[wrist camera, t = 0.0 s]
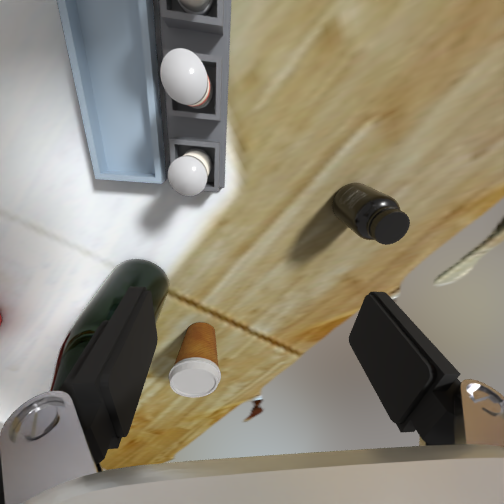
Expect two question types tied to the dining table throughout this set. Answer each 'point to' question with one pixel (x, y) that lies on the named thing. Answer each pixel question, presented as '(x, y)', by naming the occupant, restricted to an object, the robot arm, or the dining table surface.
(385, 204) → the supplement bottle
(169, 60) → the cylinder
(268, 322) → the dining table surface
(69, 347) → the green wine bottle
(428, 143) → the dining table surface
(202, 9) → the ball
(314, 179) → the dining table surface
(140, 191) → the dining table surface
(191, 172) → the fuse
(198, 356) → the disposable coffee cup
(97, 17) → the parts tray
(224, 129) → the fuse holder
